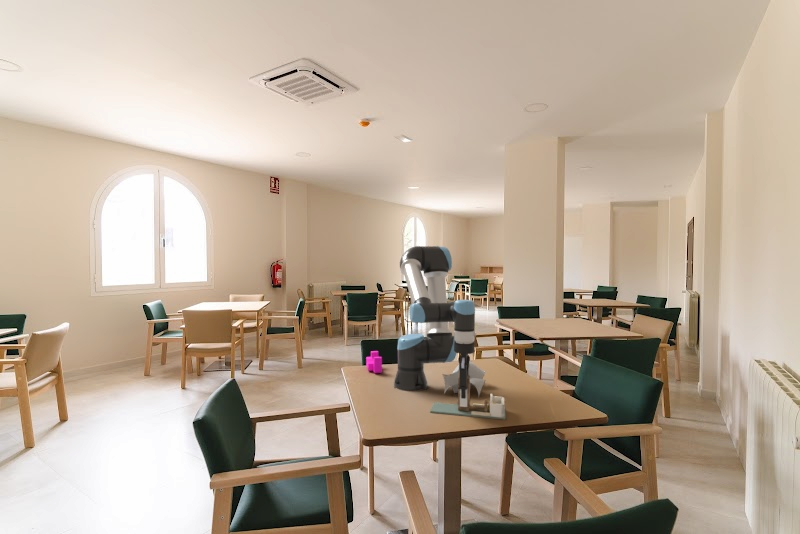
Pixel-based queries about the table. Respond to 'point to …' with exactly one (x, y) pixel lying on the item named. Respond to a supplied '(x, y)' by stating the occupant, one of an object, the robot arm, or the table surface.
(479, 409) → the tan l-shaped block
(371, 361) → the toy block
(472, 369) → the sculpture
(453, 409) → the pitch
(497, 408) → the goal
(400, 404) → the table surface
